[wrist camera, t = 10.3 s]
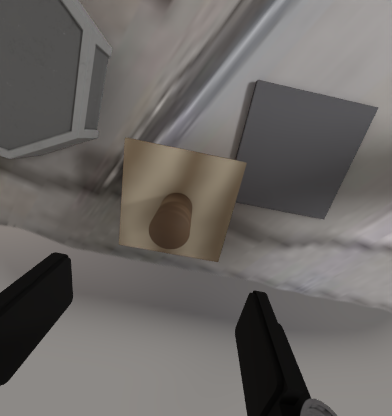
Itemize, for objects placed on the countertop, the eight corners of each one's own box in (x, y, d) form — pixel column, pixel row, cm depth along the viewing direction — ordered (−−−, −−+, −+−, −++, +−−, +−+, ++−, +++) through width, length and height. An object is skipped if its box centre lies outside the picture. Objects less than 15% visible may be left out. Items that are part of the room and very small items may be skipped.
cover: (245, 162, 21) (265, 173, 14) (217, 258, 25) (223, 299, 19) (127, 137, 20) (93, 137, 14) (121, 241, 24) (93, 277, 18)
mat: (374, 108, 23) (378, 107, 22) (321, 217, 28) (323, 219, 28) (256, 81, 22) (258, 79, 22) (225, 198, 27) (225, 200, 27)
